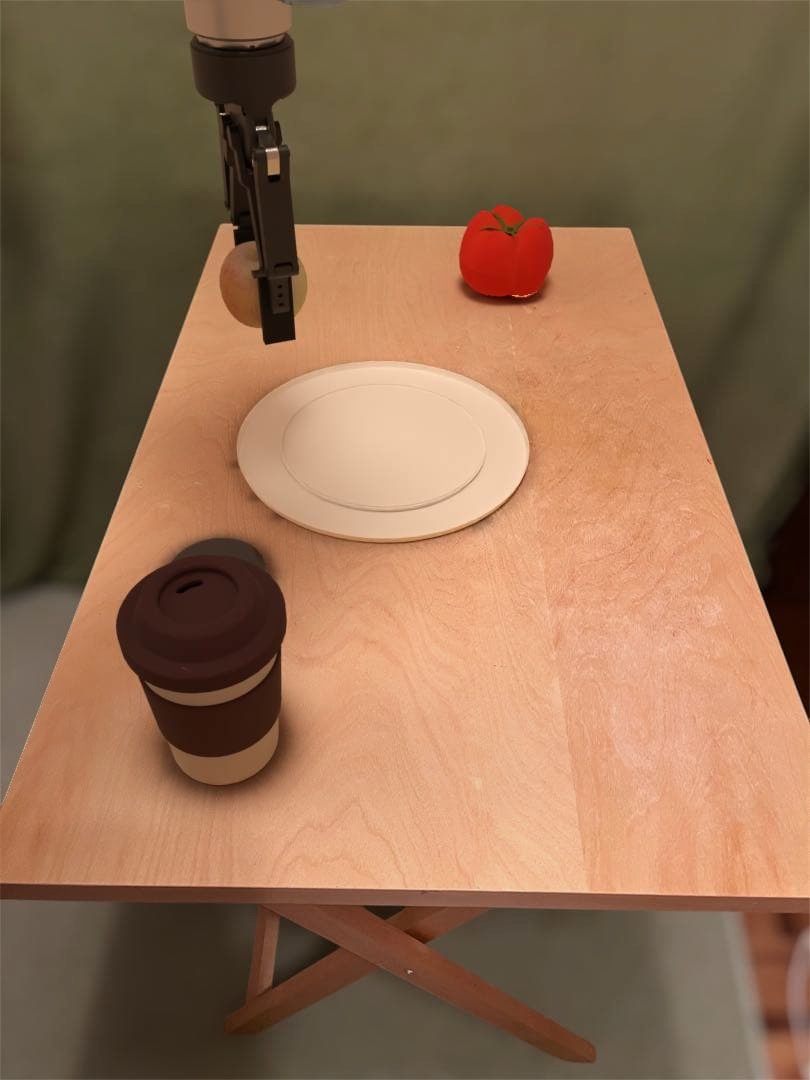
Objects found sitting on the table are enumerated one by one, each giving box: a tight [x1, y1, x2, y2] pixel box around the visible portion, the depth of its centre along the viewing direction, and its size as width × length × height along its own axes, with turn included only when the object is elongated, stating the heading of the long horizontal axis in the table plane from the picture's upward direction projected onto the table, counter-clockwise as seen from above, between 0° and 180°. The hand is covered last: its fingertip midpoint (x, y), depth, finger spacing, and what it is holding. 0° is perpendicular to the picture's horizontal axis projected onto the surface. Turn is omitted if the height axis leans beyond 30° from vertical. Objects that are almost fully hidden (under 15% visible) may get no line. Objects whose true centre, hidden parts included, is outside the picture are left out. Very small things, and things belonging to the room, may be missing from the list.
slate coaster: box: [170, 537, 267, 572], centre depth 75 cm, size 8×8×1 cm
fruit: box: [219, 241, 308, 329], centre depth 79 cm, size 8×7×8 cm
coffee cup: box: [115, 555, 288, 786], centre depth 58 cm, size 10×10×15 cm
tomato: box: [458, 204, 555, 299], centre depth 109 cm, size 11×12×9 cm
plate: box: [236, 360, 530, 543], centre depth 88 cm, size 28×28×1 cm
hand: (267, 317), depth 81 cm, fingers closed on fruit, 7 cm apart
